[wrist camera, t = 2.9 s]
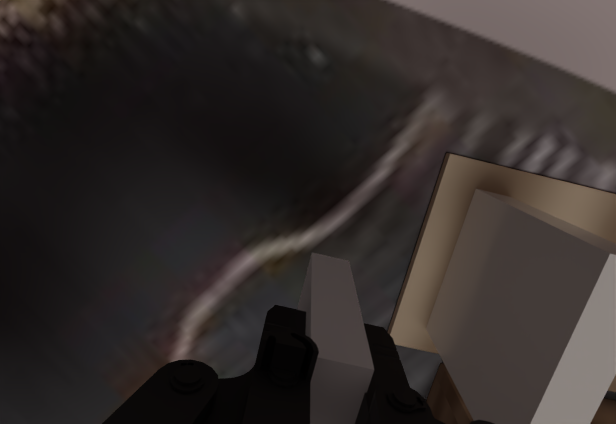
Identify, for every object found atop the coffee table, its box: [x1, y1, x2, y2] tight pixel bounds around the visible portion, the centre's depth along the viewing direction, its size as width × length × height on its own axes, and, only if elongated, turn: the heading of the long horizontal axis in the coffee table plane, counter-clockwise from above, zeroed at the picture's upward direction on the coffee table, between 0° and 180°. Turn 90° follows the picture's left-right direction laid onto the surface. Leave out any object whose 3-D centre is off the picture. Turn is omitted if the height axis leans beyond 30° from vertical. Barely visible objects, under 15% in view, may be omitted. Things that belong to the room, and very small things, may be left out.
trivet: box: [388, 153, 616, 392], centre depth 23 cm, size 20×12×1 cm, turn 77°
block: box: [426, 189, 616, 424], centre depth 18 cm, size 2×9×10 cm, turn 167°
